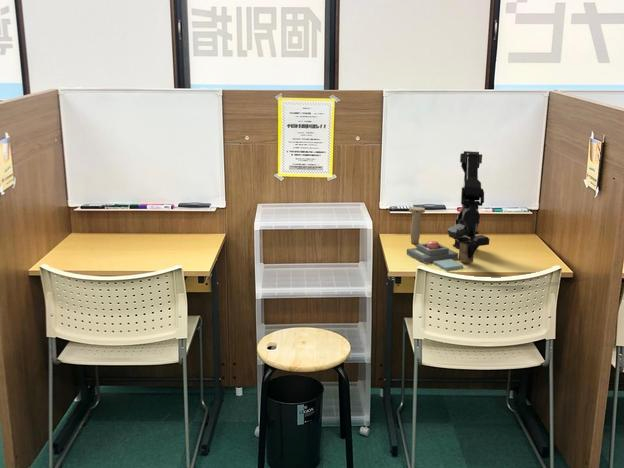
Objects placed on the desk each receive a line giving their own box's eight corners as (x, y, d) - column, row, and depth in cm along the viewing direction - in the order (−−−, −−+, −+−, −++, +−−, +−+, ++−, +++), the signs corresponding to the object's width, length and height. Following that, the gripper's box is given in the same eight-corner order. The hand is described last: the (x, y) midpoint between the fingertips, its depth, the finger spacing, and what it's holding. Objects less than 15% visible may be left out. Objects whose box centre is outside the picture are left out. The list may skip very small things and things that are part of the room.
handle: (422, 245, 280) (425, 210, 275) (407, 244, 280) (409, 209, 276) (422, 241, 284) (424, 207, 280) (406, 241, 285) (409, 206, 281)
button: (433, 249, 269) (434, 240, 268) (440, 252, 265) (440, 243, 264) (424, 250, 267) (425, 241, 266) (430, 253, 263) (431, 244, 262)
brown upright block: (466, 258, 262) (468, 241, 260) (473, 261, 259) (474, 244, 257) (458, 259, 261) (459, 242, 259) (464, 262, 257) (466, 245, 255)
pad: (450, 261, 261) (450, 258, 260) (462, 267, 254) (463, 265, 253) (432, 263, 257) (433, 261, 257) (445, 270, 251) (445, 267, 250)
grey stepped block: (439, 249, 275) (440, 240, 274) (457, 258, 264) (458, 248, 263) (406, 253, 268) (407, 244, 267) (423, 263, 258) (424, 253, 257)
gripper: (437, 213, 260) (434, 252, 264) (467, 226, 244) (463, 266, 248) (461, 210, 264) (457, 248, 269) (492, 223, 248) (488, 263, 253)
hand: (466, 256), depth 259 cm, fingers closed on brown upright block, 4 cm apart
